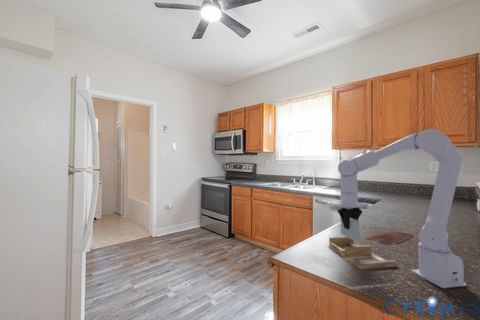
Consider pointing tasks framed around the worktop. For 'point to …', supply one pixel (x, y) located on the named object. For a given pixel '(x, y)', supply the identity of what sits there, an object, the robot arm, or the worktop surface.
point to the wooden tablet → (390, 237)
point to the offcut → (353, 244)
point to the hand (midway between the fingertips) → (349, 228)
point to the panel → (351, 229)
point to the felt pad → (366, 260)
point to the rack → (357, 253)
